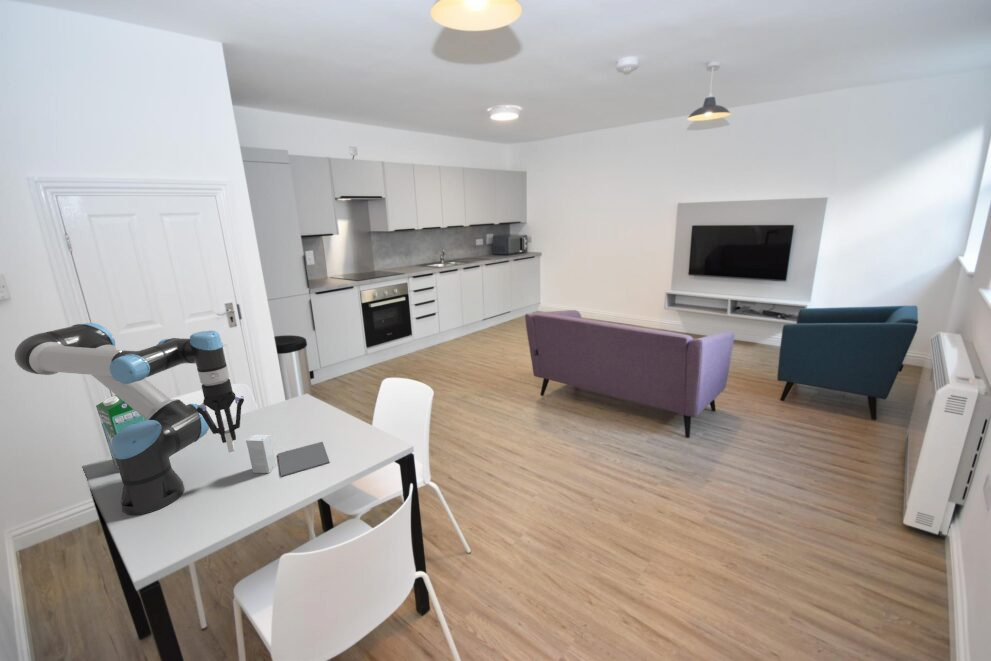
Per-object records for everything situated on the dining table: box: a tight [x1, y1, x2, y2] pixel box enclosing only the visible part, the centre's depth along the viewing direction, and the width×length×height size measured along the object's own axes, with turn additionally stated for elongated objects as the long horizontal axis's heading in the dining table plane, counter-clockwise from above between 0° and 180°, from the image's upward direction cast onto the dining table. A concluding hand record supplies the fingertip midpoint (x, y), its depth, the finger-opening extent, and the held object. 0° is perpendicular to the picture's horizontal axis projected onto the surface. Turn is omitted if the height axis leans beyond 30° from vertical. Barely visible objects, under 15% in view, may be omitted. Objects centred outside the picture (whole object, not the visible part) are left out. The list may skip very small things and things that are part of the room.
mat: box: [277, 441, 331, 478], centre depth 150 cm, size 15×16×1 cm
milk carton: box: [95, 394, 146, 467], centre depth 150 cm, size 9×9×25 cm
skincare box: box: [245, 434, 277, 474], centre depth 143 cm, size 6×4×12 cm
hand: (231, 449), depth 138 cm, fingers closed
